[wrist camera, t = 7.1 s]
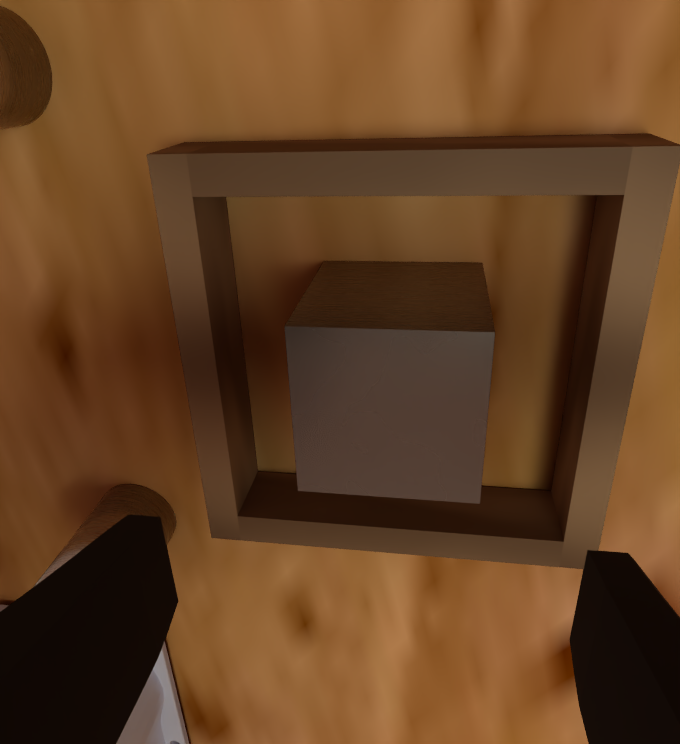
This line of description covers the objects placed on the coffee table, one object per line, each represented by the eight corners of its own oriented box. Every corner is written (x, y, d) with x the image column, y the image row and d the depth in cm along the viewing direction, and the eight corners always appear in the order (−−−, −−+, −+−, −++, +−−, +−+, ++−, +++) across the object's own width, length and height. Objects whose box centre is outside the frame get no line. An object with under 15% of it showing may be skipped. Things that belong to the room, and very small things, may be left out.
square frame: (578, 516, 20) (594, 570, 18) (233, 492, 22) (211, 537, 20) (649, 133, 15) (683, 146, 13) (184, 142, 17) (146, 154, 15)
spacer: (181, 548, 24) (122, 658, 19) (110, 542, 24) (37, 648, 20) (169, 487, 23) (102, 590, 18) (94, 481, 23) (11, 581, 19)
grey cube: (472, 401, 19) (479, 504, 15) (330, 394, 20) (298, 490, 15) (482, 261, 17) (494, 332, 13) (324, 260, 18) (284, 326, 13)
